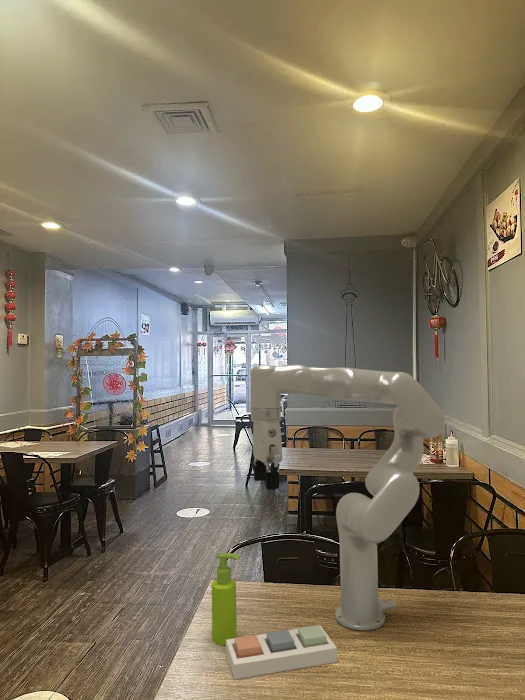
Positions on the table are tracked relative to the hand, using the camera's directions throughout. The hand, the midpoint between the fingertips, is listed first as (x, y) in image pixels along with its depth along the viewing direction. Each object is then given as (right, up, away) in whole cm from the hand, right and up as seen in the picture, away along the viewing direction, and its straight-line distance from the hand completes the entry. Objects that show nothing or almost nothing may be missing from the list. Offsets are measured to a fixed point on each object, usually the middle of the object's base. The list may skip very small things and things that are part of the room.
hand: (266, 484), depth 123 cm
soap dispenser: (-10, -36, -4) cm, 38 cm away
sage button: (+10, -33, -10) cm, 36 cm away
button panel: (+3, -36, -12) cm, 38 cm away
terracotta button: (-4, -33, -13) cm, 36 cm away
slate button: (+3, -33, -12) cm, 35 cm away
